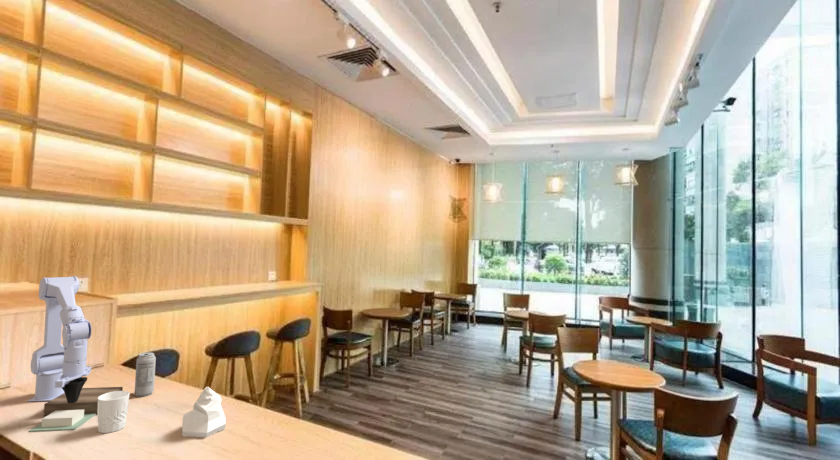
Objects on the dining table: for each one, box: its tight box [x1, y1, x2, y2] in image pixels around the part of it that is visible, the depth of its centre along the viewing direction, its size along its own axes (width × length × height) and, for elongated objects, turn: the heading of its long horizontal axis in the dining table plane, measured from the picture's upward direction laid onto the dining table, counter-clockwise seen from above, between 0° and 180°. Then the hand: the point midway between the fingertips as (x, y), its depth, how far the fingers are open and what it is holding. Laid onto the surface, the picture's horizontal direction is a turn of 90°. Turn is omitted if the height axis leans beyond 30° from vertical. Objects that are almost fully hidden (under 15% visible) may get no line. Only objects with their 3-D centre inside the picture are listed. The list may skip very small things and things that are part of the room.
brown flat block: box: [43, 386, 124, 418], centre depth 139 cm, size 14×16×4 cm
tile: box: [41, 410, 84, 427], centre depth 126 cm, size 6×8×2 cm
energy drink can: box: [134, 351, 157, 398], centre depth 151 cm, size 6×6×15 cm
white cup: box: [97, 390, 130, 434], centre depth 124 cm, size 8×8×10 cm
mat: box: [28, 413, 97, 433], centre depth 126 cm, size 11×12×1 cm
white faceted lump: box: [181, 386, 227, 438], centre depth 126 cm, size 12×15×14 cm
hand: (72, 402), depth 130 cm, fingers closed
